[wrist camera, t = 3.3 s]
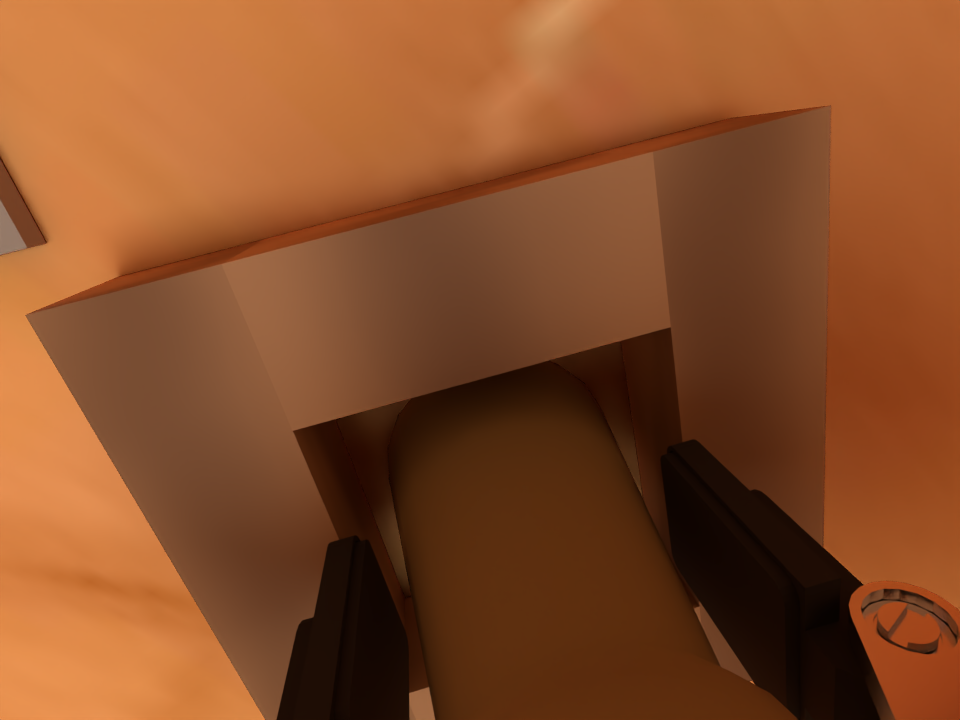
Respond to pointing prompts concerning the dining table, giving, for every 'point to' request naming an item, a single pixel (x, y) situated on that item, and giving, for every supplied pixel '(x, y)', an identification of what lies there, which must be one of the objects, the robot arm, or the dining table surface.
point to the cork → (545, 564)
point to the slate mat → (15, 219)
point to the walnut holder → (460, 354)
